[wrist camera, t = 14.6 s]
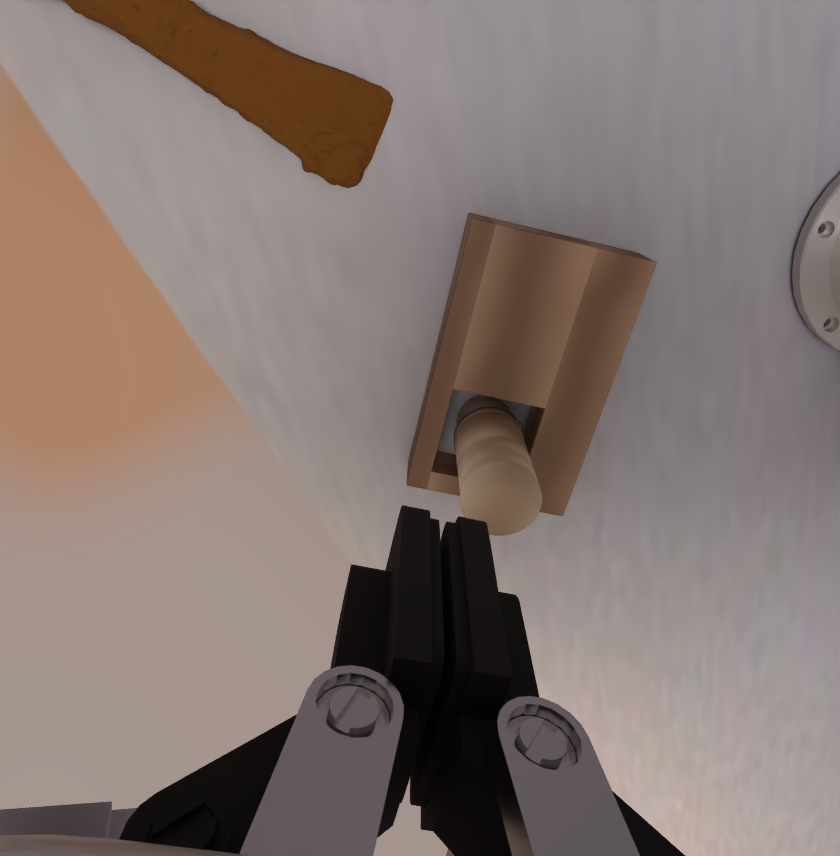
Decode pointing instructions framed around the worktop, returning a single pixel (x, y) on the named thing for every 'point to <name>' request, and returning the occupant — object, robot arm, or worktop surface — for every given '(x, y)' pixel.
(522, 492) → the peg
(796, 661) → the worktop surface
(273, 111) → the primitive tool
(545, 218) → the worktop surface
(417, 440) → the board
